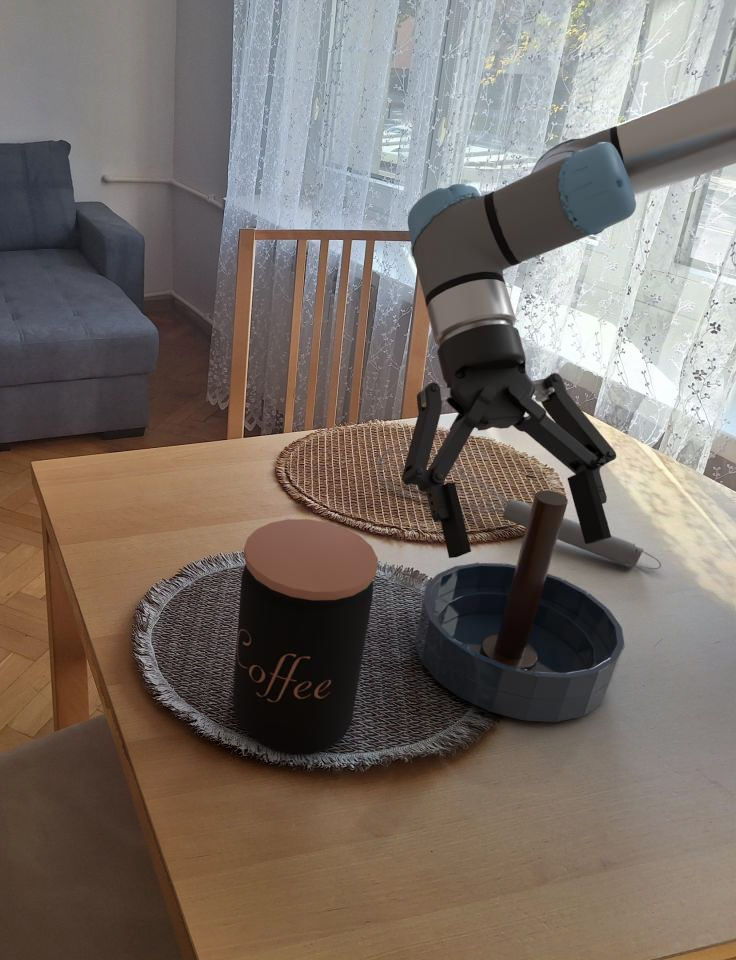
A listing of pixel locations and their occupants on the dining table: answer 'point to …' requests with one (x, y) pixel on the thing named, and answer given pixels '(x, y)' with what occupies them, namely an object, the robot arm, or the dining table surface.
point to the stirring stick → (527, 584)
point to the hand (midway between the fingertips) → (529, 548)
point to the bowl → (554, 636)
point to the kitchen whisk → (569, 529)
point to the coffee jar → (301, 633)
